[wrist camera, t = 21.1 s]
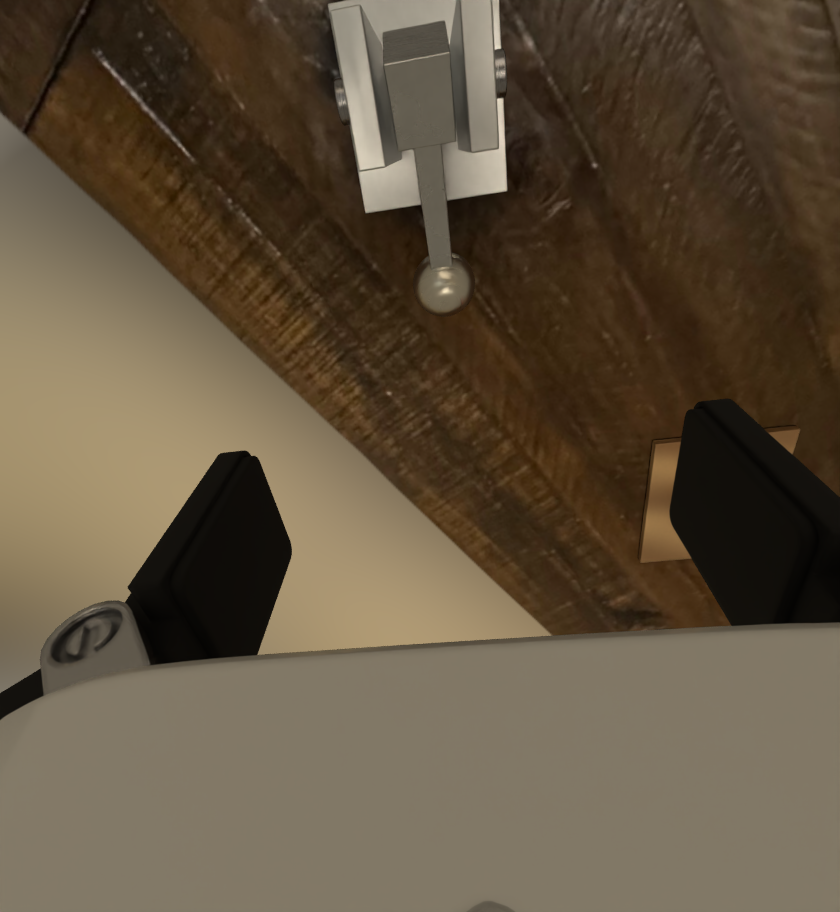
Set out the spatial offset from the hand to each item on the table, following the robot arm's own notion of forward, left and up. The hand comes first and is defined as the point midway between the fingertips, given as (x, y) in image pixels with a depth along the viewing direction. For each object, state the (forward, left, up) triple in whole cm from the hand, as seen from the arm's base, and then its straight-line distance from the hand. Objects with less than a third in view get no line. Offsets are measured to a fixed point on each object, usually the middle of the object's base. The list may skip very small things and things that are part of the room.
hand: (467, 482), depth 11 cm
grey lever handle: (-5, 0, -17) cm, 17 cm away
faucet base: (-8, 0, -23) cm, 24 cm away
